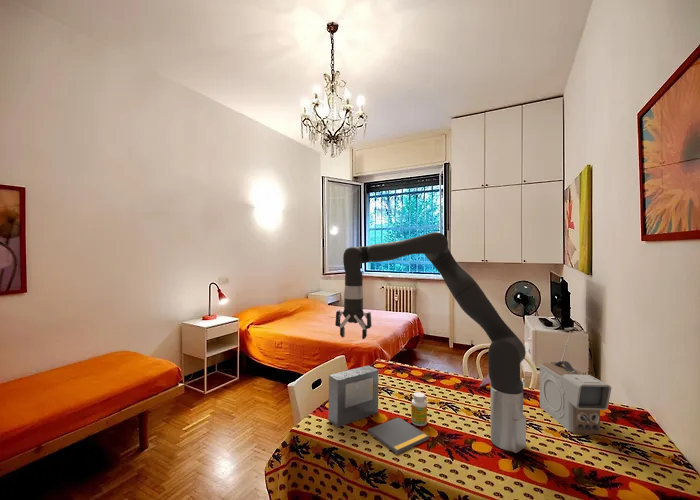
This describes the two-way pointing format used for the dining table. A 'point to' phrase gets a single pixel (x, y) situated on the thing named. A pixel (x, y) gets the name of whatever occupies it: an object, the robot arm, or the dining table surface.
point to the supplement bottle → (419, 409)
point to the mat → (398, 435)
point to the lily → (485, 381)
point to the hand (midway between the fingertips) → (353, 337)
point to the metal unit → (353, 395)
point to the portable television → (572, 396)
